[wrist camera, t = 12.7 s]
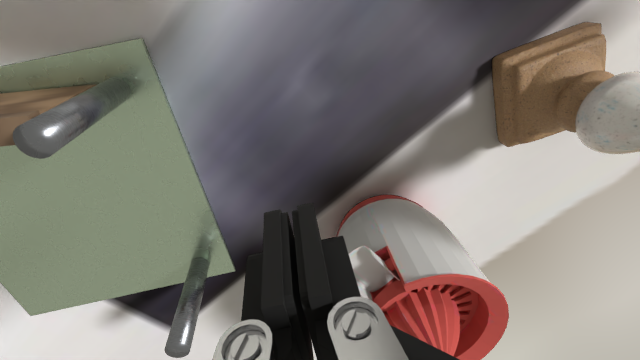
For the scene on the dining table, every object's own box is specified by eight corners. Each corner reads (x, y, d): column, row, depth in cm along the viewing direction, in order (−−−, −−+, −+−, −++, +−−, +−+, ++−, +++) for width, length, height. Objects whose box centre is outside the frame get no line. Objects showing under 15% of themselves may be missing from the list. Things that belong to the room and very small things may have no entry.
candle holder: (490, 57, 37) (770, 138, 16) (588, 19, 36) (1011, 53, 16) (497, 143, 42) (714, 287, 22) (583, 112, 42) (892, 228, 21)
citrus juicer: (375, 147, 41) (453, 263, 23) (456, 221, 48) (562, 352, 30) (289, 230, 45) (300, 380, 27) (375, 287, 52) (427, 434, 35)
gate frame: (-159, 98, 31) (-433, 164, 19) (142, 37, 32) (62, 64, 20) (33, 312, 46) (-53, 427, 34) (235, 268, 47) (223, 365, 35)
